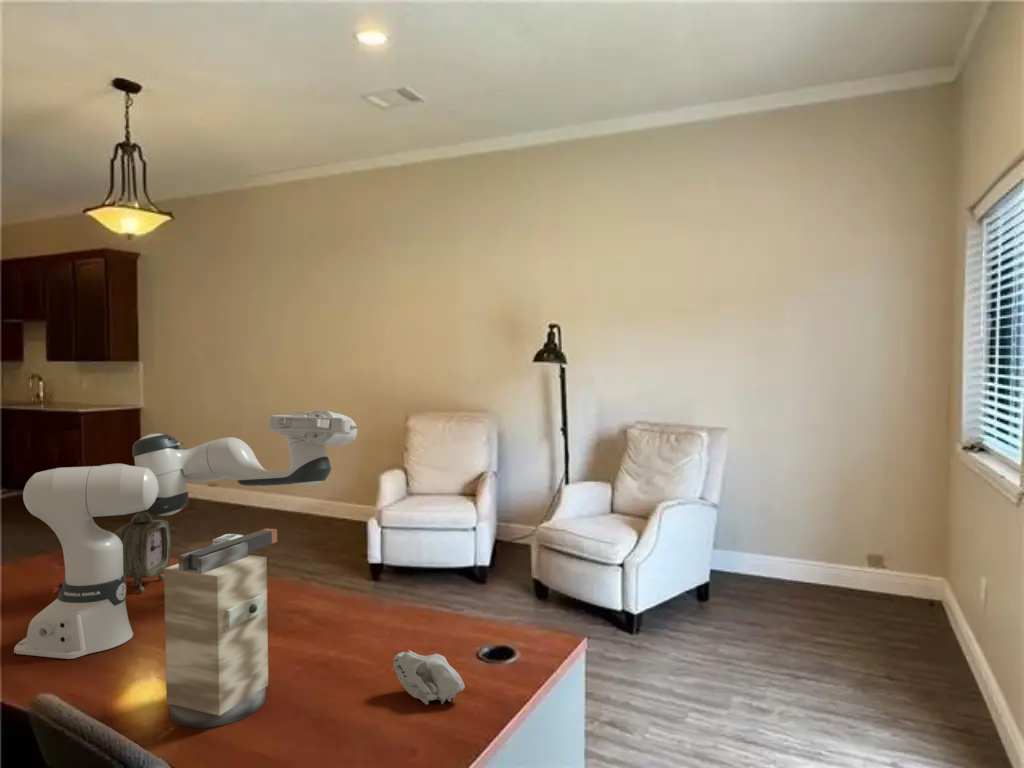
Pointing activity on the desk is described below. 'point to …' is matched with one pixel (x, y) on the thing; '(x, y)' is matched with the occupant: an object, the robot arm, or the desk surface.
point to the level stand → (216, 637)
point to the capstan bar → (253, 540)
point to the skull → (427, 676)
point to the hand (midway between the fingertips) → (296, 421)
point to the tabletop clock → (145, 547)
